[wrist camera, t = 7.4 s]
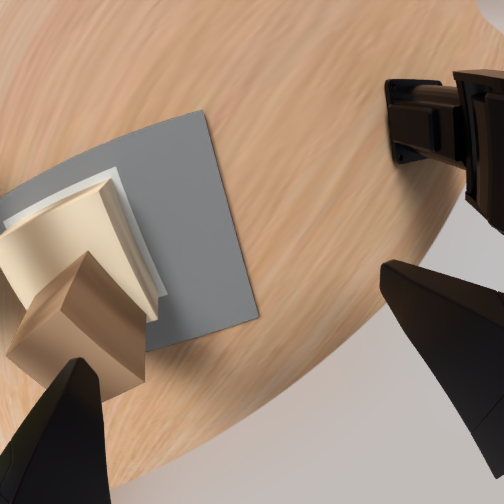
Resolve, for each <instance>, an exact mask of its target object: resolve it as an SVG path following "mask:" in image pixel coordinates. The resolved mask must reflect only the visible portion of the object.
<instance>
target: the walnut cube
mask: <svg viewBox="0 0 504 504" xmlns="http://www.w3.org/2000/svg"><path fill="white" fill-rule="evenodd" d="M146 317H147V314H146V313H145V312H144V311H143V310H142V309H141V308H140V307H139V306H138V305H137V304H136V303H135V302H134V301H133V300H132V299H131V298H130V297H129V296H128V295H127V293H126V292H125V291H124V290H123V289H122V288H121V287H120V286H119V285H118V284H117V283H116V282H115V281H114V279H113V278H112V277H111V276H110V275H109V274H108V273H107V272H106V271H105V269H104V268H103V267H102V266H101V265H100V264H99V263H98V261H97V260H96V259H95V258H94V257H93V256H92V254H91V253H90V252H89V251H88V250H87V251H86V252H85V253H84V254H83V255H81V256H80V257H79V258H78V259H76V260H75V261H74V262H73V263H72V264H70V265H69V266H68V267H67V268H66V269H65V270H63V271H62V272H61V273H60V274H59V275H58V276H57V277H55V278H54V279H53V280H52V281H51V282H50V283H49V284H47V285H46V286H45V287H44V288H43V289H42V290H41V291H40V292H39V293H38V294H36V295H35V297H34V299H33V301H32V302H31V304H30V306H29V308H28V310H27V312H26V314H25V316H24V318H23V320H22V322H21V324H20V326H19V328H18V330H17V332H16V334H15V336H14V338H13V340H12V342H11V345H10V347H9V349H8V351H7V354H6V356H7V357H8V358H9V359H10V360H11V361H12V362H13V363H14V364H16V365H17V366H18V367H19V368H20V369H22V370H23V371H24V372H25V373H26V374H28V375H29V376H30V377H31V378H33V379H34V380H35V381H36V382H38V383H39V384H40V385H42V386H43V387H44V388H46V389H47V388H48V387H49V385H50V384H51V383H52V382H53V380H54V379H55V378H56V376H57V375H58V374H59V372H60V371H61V370H62V369H63V367H64V366H65V365H66V364H67V362H68V361H69V360H70V359H72V358H77V357H82V358H84V359H85V360H86V362H87V363H88V364H89V365H90V366H91V368H92V369H93V370H94V371H95V372H96V374H97V375H98V378H99V382H100V393H101V403H102V402H104V401H107V400H109V399H111V398H113V397H115V396H117V395H120V394H122V393H124V392H126V391H128V390H130V389H132V388H134V387H136V386H138V385H140V384H142V383H144V382H145V341H146Z"/></svg>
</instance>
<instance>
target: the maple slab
mask: <svg viewBox="0 0 504 504" xmlns="http://www.w3.org/2000/svg"><path fill="white" fill-rule="evenodd" d="M87 250H88V251H89V252H90V253H91V254H92V256H93V257H94V258H95V259H96V260H97V261H98V263H99V264H100V265H101V266H102V267H103V268H104V269H105V271H106V272H107V273H108V274H109V275H110V276H111V277H112V278H113V279H114V281H115V282H116V283H117V284H118V285H119V286H120V287H121V288H122V289H123V290H124V291H125V292H126V293H127V295H128V296H129V297H130V298H131V299H132V300H133V301H134V302H135V303H136V304H137V305H138V306H139V307H140V308H141V309H142V310H143V311H144V312H145V313H146V314H147V317H146V323H148V322H151V321H155V320H158V289H157V287H156V285H155V283H154V281H153V279H152V277H151V274H150V272H149V270H148V268H147V266H146V264H145V261H144V259H143V257H142V255H141V252H140V250H139V248H138V245H137V243H136V241H135V238H134V236H133V234H132V231H131V229H130V226H129V224H128V222H127V219H126V217H125V214H124V212H123V209H122V206H121V204H120V201H119V199H118V196H117V193H116V191H115V188H114V185H113V182H112V180H111V178H109V179H106V180H104V181H101V182H99V183H97V184H94V185H92V186H90V187H87V188H85V189H83V190H81V191H78V192H76V193H74V194H72V195H70V196H67V197H65V198H63V199H61V200H59V201H57V202H55V203H53V204H51V205H49V206H47V207H45V208H43V209H41V210H39V211H37V212H35V213H33V214H31V215H29V216H27V217H25V218H24V219H22V220H20V221H18V222H16V223H15V224H13V225H11V226H10V227H9V228H8V229H6V230H5V231H4V232H3V233H2V234H1V235H0V267H1V269H2V271H3V273H4V275H5V276H6V278H7V280H8V281H9V283H10V285H11V287H12V288H13V290H14V292H15V293H16V295H17V296H18V298H19V300H20V301H21V303H22V304H23V306H24V307H25V309H26V310H28V308H29V306H30V304H31V302H32V301H33V299H34V297H35V295H36V294H38V293H39V292H40V291H41V290H42V289H43V288H44V287H45V286H46V285H47V284H49V283H50V282H51V281H52V280H53V279H54V278H55V277H57V276H58V275H59V274H60V273H61V272H62V271H63V270H65V269H66V268H67V267H68V266H69V265H70V264H72V263H73V262H74V261H75V260H76V259H78V258H79V257H80V256H81V255H83V254H84V253H85V252H86V251H87Z"/></svg>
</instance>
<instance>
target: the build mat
mask: <svg viewBox="0 0 504 504" xmlns="http://www.w3.org/2000/svg"><path fill="white" fill-rule="evenodd" d="M109 178H111V180H112V182H113V185H114V188H115V191H116V193H117V196H118V199H119V201H120V204H121V206H122V209H123V212H124V214H125V217H126V219H127V222H128V224H129V226H130V229H131V231H132V234H133V236H134V238H135V241H136V243H137V245H138V248H139V250H140V252H141V255H142V257H143V259H144V261H145V264H146V266H147V268H148V270H149V272H150V274H151V277H152V279H153V281H154V283H155V285H156V287H157V289H158V320H155V321H151V322H148V323H146V341H145V352H148V351H152V350H155V349H159V348H162V347H166V346H169V345H173V344H176V343H180V342H183V341H186V340H190V339H193V338H196V337H199V336H203V335H206V334H209V333H212V332H215V331H218V330H221V329H225V328H228V327H231V326H234V325H237V324H240V323H243V322H246V321H249V320H251V319H254V318H257V317H259V315H258V312H257V308H256V305H255V301H254V298H253V294H252V291H251V287H250V283H249V280H248V276H247V273H246V269H245V265H244V262H243V258H242V255H241V251H240V247H239V244H238V240H237V236H236V233H235V229H234V225H233V222H232V218H231V214H230V211H229V207H228V203H227V200H226V196H225V192H224V189H223V185H222V181H221V177H220V174H219V170H218V166H217V162H216V159H215V155H214V151H213V147H212V144H211V140H210V136H209V132H208V128H207V125H206V121H205V117H204V113H203V110H200V111H196V112H192V113H189V114H186V115H182V116H179V117H176V118H172V119H169V120H166V121H163V122H160V123H157V124H154V125H151V126H148V127H145V128H143V129H140V130H137V131H134V132H132V133H129V134H126V135H124V136H121V137H119V138H116V139H114V140H111V141H109V142H106V143H104V144H102V145H99V146H97V147H95V148H92V149H90V150H88V151H86V152H84V153H81V154H79V155H77V156H75V157H73V158H71V159H69V160H67V161H65V162H63V163H61V164H59V165H57V166H55V167H53V168H51V169H49V170H47V171H45V172H43V173H41V174H40V175H38V176H36V177H34V178H32V179H31V180H29V181H27V182H25V183H24V184H22V185H20V186H18V187H17V188H15V189H13V190H12V191H10V192H9V193H7V194H5V195H4V196H2V197H1V198H0V235H1V234H2V233H3V232H4V231H5V230H6V229H8V228H9V227H10V226H11V225H13V224H15V223H16V222H18V221H20V220H22V219H24V218H25V217H27V216H29V215H31V214H33V213H35V212H37V211H39V210H41V209H43V208H45V207H47V206H49V205H51V204H53V203H55V202H57V201H59V200H61V199H63V198H65V197H67V196H70V195H72V194H74V193H76V192H78V191H81V190H83V189H85V188H87V187H90V186H92V185H94V184H97V183H99V182H101V181H104V180H106V179H109Z"/></svg>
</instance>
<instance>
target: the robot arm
mask: <svg viewBox="0 0 504 504" xmlns="http://www.w3.org/2000/svg"><path fill="white" fill-rule="evenodd" d="M452 72H453V76H454V80H456V85H457V87H450V86H442V83H441V82H440V81H436V80H415V79H388V80H386V81H385V91H386V97H387V104H388V112H389V120H390V130H391V140H392V153H393V160H394V162H395V163H398V164H404V163H409V162H413V161H417V160H422V159H427V158H432V159H435V160H438V161H441V162H444V163H447V164H450V165H452V166H455V167H458V168H461V169H463V170H466V189H467V191H466V192H465V200H466V201H467V202H468V203H469V204H471V205H472V206H473V207H474V208H475V209H476V210H477V211H478V212H479V213H480V214H481V215H482V216H483V217H484V218H485V219H486V220H487V221H488V223H489V224H490V225H491V226H492V227H494V228H495V229H497V230H498V231H499V232H500V233H501V234H503V235H504V71H497V70H485V69H484V70H464V71H452ZM391 84H392V88H391ZM399 155H400V158H399ZM380 291H381V293H382V295H383V297H384V299H385V300H386V302H387V304H388V305H389V307H390V309H391V310H392V312H393V314H394V315H395V317H396V319H397V321H398V322H399V324H400V326H401V327H402V329H403V331H404V332H405V334H406V335H407V337H408V338H409V340H410V341H411V342H412V344H413V345H414V347H415V348H416V349H417V351H418V352H419V354H420V355H421V356H422V358H423V359H424V361H425V362H426V364H427V365H428V367H429V368H430V369H431V371H432V373H433V374H434V376H435V377H436V379H437V380H438V382H439V383H440V385H441V386H442V388H443V389H444V391H445V392H446V394H447V395H448V397H449V399H450V400H451V402H452V403H453V405H454V407H455V408H456V410H457V411H458V413H459V415H460V416H461V418H462V419H463V421H464V423H465V425H466V426H467V428H468V430H469V431H470V432H471V435H472V437H473V439H474V440H475V442H476V444H477V446H478V447H479V449H480V451H481V453H482V455H483V457H484V458H485V460H486V462H487V464H488V466H489V468H490V470H491V472H492V474H493V475H494V477H495V478H496V479H497V478H499V477H501V476H502V475H504V293H501V292H499V291H498V292H497V291H496V290H493V289H490V288H487V287H483V286H480V285H477V284H474V283H471V282H467V281H464V280H461V279H458V278H455V277H451V276H448V275H445V274H442V273H438V272H435V271H431V270H429V269H425V268H422V267H419V266H415V265H412V264H408V263H405V262H402V261H398V260H394V259H393V260H390V261H387V262H385V263H383V264H382V265H381V268H380ZM0 504H111V499H110V493H109V484H108V475H107V465H106V452H105V435H104V421H103V412H102V403H101V393H100V382H99V378H98V375H97V374H96V372H95V371H94V370H93V369H92V368H91V366H90V365H89V364H88V363H87V362H86V360H85V359H84V358H82V357H77V358H72V359H70V360H69V361H68V362H67V364H66V365H65V366H64V367H63V369H62V370H61V371H60V372H59V374H58V375H57V376H56V378H55V379H54V380H53V382H52V383H51V384H50V385H49V387H48V388H47V389H46V391H45V392H44V393H43V395H42V396H41V397H40V399H39V400H38V402H37V403H36V404H35V406H34V407H33V408H32V410H31V411H30V413H29V414H28V415H27V417H26V418H25V420H24V421H23V422H22V424H21V425H20V427H19V428H18V430H17V431H16V433H15V434H14V436H13V437H12V439H11V441H9V443H8V445H7V446H6V448H5V449H4V451H3V452H2V454H1V455H0Z"/></svg>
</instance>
